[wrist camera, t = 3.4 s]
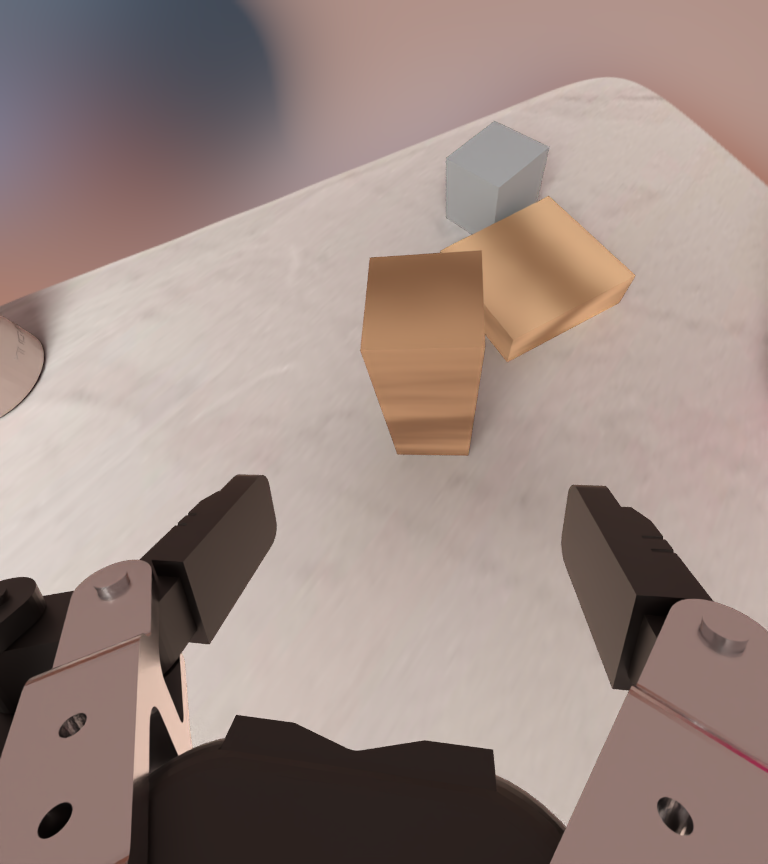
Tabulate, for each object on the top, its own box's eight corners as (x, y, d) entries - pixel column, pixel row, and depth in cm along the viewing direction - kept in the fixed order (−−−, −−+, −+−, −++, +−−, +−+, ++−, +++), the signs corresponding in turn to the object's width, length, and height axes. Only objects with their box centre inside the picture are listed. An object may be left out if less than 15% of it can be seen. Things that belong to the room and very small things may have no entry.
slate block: (491, 247, 31) (498, 187, 26) (446, 218, 33) (445, 158, 28) (534, 211, 32) (549, 147, 27) (488, 185, 34) (494, 120, 29)
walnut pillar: (468, 455, 25) (485, 346, 14) (397, 454, 26) (360, 350, 15) (467, 392, 27) (481, 250, 16) (400, 392, 27) (369, 257, 16)
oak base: (506, 365, 27) (513, 339, 25) (440, 281, 31) (440, 250, 28) (616, 307, 28) (635, 275, 25) (539, 230, 31) (548, 195, 29)
